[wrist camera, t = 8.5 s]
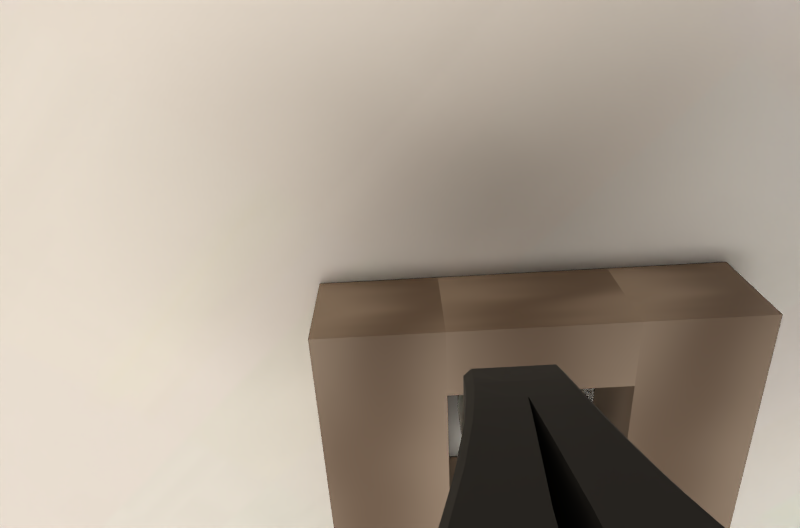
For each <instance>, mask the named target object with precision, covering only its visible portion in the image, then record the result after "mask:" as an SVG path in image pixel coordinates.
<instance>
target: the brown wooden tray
mask: <svg viewBox="0 0 800 528" xmlns="http://www.w3.org/2000/svg"><path fill="white" fill-rule="evenodd" d="M781 319H782V314H781V313H780V312H779V311H778V310H777V309H776V308H775V307H774V306H773V305H772V304H771V303H770V302H768V301H767V300H766V299H765V298H764V297H763V296H762V295H761V294H760V293H759V292H758V291H757V290H756V289H755V288H754V287H752V286H751V285H750V284H749V283H748V282H747V281H746V280H745V279H744V278H743V277H742V276H741V275H740V274H739V273H737V272H736V271H735V270H734V269H733V268H732V267H731V266H730V265H729V264H728V263H727V262H719V263H701V264H682V265H663V266H644V267H626V268H607V269H588V270H570V271H551V272H532V273H513V274H495V275H476V276H457V277H438V278H420V279H401V280H382V281H364V282H345V283H326V284H319V289H318V294H317V299H316V304H315V309H314V313H313V318H312V323H311V328H310V333H309V338H308V342H309V349H310V357H311V364H312V371H313V379H314V386H315V393H316V400H317V408H318V415H319V422H320V429H321V437H322V444H323V451H324V459H325V466H326V473H327V480H328V488H329V495H330V502H331V509H332V517H333V524H334V528H438V527H439V524H440V521H441V517H442V514H443V511H444V507H445V504H446V500H447V497H448V494H449V490H450V487H451V483H452V480H453V476H454V472H455V467H456V462H457V457H449V444H448V402H447V396H451V395H463V376H464V375H465V374H466V373H467V372H468V371H469V370H470V369H476V368H495V367H515V366H534V365H553V364H556V365H557V366H558V367H560V368H561V369H562V370H563V371H564V372H565V373H566V374H567V376H568V377H569V378H570V379H571V380H572V381H573V382H574V383H575V384H576V385H577V386H578V387H579V389H586V388H595V392H594V402H593V404H594V405H595V406H596V407H597V408H598V409H599V410H600V411H601V412H602V413H603V414H604V415H605V416H606V417H607V418H608V419H609V420H610V421H611V422H612V423H613V424H614V425H615V427H616V428H617V429H618V430H619V431H620V432H621V433H622V434H623V435H624V436H625V437H626V438H627V439H628V440H629V441H630V442H631V443H633V444H634V445H635V446H636V447H637V448H638V449H639V450H640V451H641V452H642V453H643V454H644V455H645V456H646V457H647V458H648V459H649V460H650V461H651V462H652V463H653V464H654V465H655V466H656V467H657V468H658V469H659V470H660V471H662V472H663V473H664V474H665V475H666V476H667V477H668V478H669V479H670V480H671V481H672V482H673V483H675V484H676V485H677V486H678V487H679V488H680V489H681V490H682V491H683V492H684V493H685V494H687V495H688V496H689V497H690V498H691V499H692V500H694V501H695V502H696V503H697V504H698V505H699V506H700V507H702V508H703V509H704V510H705V511H706V512H707V513H708V514H710V515H711V516H712V517H713V518H714V519H715V520H716V521H718V522H719V523H720V524H721V525H722V526H724V527H725V528H730V524H731V520H732V516H733V512H734V508H735V504H736V500H737V496H738V492H739V488H740V484H741V480H742V476H743V472H744V468H745V464H746V460H747V456H748V452H749V448H750V444H751V440H752V436H753V432H754V427H755V423H756V419H757V415H758V411H759V407H760V403H761V399H762V395H763V391H764V387H765V383H766V379H767V375H768V371H769V367H770V363H771V359H772V355H773V351H774V347H775V343H776V339H777V335H778V331H779V327H780V323H781Z"/></svg>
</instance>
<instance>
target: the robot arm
mask: <svg viewBox="0 0 800 528" xmlns="http://www.w3.org/2000/svg"><path fill="white" fill-rule="evenodd" d="M463 397H464V425H463V433H462V438H461V443H460V448H459V452H458V457H457V462H456V467H455V472H454V476H453V480H452V483H451V487H450V490H449V494H448V497H447V500H446V504H445V507H444V511H443V514H442V517H441V521H440V524H439V527H438V528H725V527H724V526H722V525H721V524H720V523H719V522H718V521H716V520H715V519H714V518H713V517H712V516H711V515H710V514H708V513H707V512H706V511H705V510H704V509H703V508H702V507H700V506H699V505H698V504H697V503H696V502H695V501H694V500H692V499H691V498H690V497H689V496H688V495H687V494H685V493H684V492H683V491H682V490H681V489H680V488H679V487H678V486H677V485H676V484H675V483H673V482H672V481H671V480H670V479H669V478H668V477H667V476H666V475H665V474H664V473H663V472H662V471H660V470H659V469H658V468H657V467H656V466H655V465H654V464H653V463H652V462H651V461H650V460H649V459H648V458H647V457H646V456H645V455H644V454H643V453H642V452H641V451H640V450H639V449H638V448H637V447H636V446H635V445H634V444H633V443H631V442H630V441H629V440H628V439H627V438H626V437H625V436H624V435H623V434H622V433H621V432H620V431H619V430H618V429H617V428H616V427H615V425H614V424H613V423H612V422H611V421H610V420H609V419H608V418H607V417H606V416H605V415H604V414H603V413H602V412H601V411H600V410H599V409H598V408H597V407H596V406H595V405H594V404H593V402H592V401H591V400H590V399H589V398H588V397H587V396H586V395H585V394H584V393H583V392H582V391H581V390H580V389H579V387H578V386H577V385H576V384H575V383H574V382H573V381H572V380H571V379H570V378H569V377H568V376H567V374H566V373H565V372H564V371H563V370H562V369H561V368H560V367H558V366H557V365H556V364H553V365H534V366H515V367H495V368H476V369H470V370H469V371H468V372H467V373H466V374H465V375H464V376H463Z"/></svg>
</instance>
